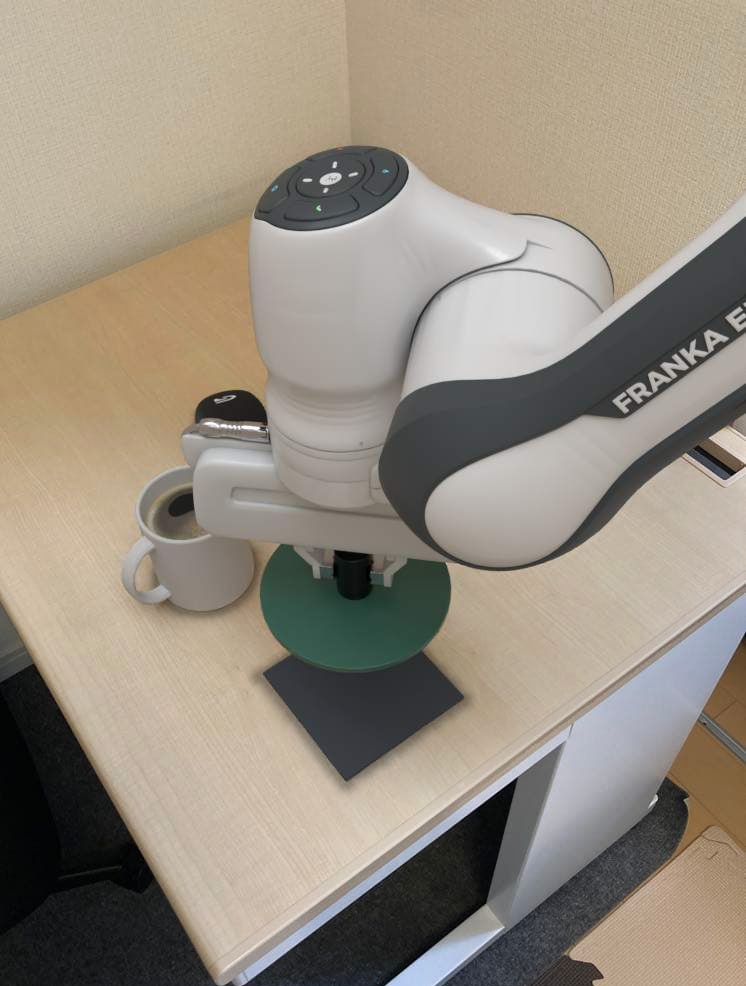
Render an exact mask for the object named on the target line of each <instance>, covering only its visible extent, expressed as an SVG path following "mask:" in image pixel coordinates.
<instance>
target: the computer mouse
mask: <svg viewBox="0 0 746 986" xmlns="http://www.w3.org/2000/svg"><path fill="white" fill-rule="evenodd" d="M205 418H218V419H223V420H224V421H233V422H241V421H243V422H244V421H249V422H261V423H268V420H267V414H266V407H265V405H263V403H262V402H261V400H260V398H258V397H257V396H256V395H255V394H254V393H252V392H250V391H248V390H244V389H229V390H223V391H220V392H217V393H216V392H215V393H213V394H210V395H207V396H206V397H205V398H203V399H202V400H201V401H200V402H199V403H198V404H197V406H196V408H195V412H194V424H197V423H200V421H201V419H205Z"/></svg>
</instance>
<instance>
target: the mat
mask: <svg viewBox="0 0 746 986" xmlns="http://www.w3.org/2000/svg"><path fill="white" fill-rule="evenodd" d="M262 675H263V676H264V678H265V680H267V682H268V683H269V685H270V686H271V687H272V688H273V689H274V691H275V692H276V694H277V695H278V696H279V697H280V699H281V700H282V701H283V702H284V704H285V705H286V707H288V709H289V710H290V712H291V713H292V714H293V715H294V717H295V718H296V719H297V720H298V722H299V723H300V724H301V726H302V727H303V728H304V730H305V731H306V732H307V734H308V735H309V737H311V739H312V740H313V742H314V743H315V744H316V745H317V746H318V748H319V749H320V751H322V753H323V754H324V756H325V757H326V758H327V759H328V761H329V762H330V763H331V765H332V766H333V767H334V768H335V770H336V771H337V772H338V773H339V775H340V776H341V778H342V779H343V780H344V781H345V782H348V781H349V780H351V779H352V778H354V777H355V776H356V775H358V774H359V773H360V772H362V771H363V770H365V769H366V768H367V767H369V766H370V765H372V764H374V763H375V762H376V761H377V760H380V758H382V757H383V756H385V755H386V754H387V753H389V752H390V751H392V750H394V749H395V748H396V747H398V746H399V745H400V744H402V743H403V742H404V741H405V742H406V740H407V739H409V738H410V737H412V736H414V735H415V734H416V733H417V732H419V731H421V730H422V729H423V728H425V727H426V726H427V725H429V724H430V723H432V722H433V721H435V720H437V718H439V717H440V716H442V715H443V714H445V713H446V712H447V711H449V710H450V709H451V708H453V707H455V706H456V705H457V704H459V703H461V702H462V701H463V700H464V699H465V696H464V695H463V693H462V692H461V691H460V690H459V689H458V688H457V687H456V686H455V685H454V684H453V683H452V681H450V679H449V678H448V677H447V676H446V675H445V674H444V673H443V671H441V669H440V668H439V667H438V666H437V665H436V664H435V663H434V662H433V661H432V660H431V659H430V658H429V657H428V656H427V655H426V653H425V652H424V651H423V649H422V650H421V651H420V652H418V653H417V654H416V655H414V656H413V657H411V658H409V659H407V660H405V661H404V662H402V663H399V664H397V665H394V666H392V667H389V668H385V669H382V670H378V671H372V672H365V673H343V672H335V671H330V670H325V669H322V668H319V667H316V666H313V665H311V664H308V663H306V662H304V661H302V660H300V659H299V658H297V657H296V656H294V655H292V654H291V653H290V655H288V656H286V657H284V658H283V659H282V660H280V661H278V662H277V663H275V664H274V665H272V666H271V667H269V668H268V669H265V670H264V671H263V672H262Z"/></svg>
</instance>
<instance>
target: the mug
mask: <svg viewBox="0 0 746 986" xmlns="http://www.w3.org/2000/svg"><path fill="white" fill-rule="evenodd" d="M194 471H195V470H193V469H192V468H191V467H190V466H189V465H188V464H183V465H178V466H174V467H172V468H169V469H166V470H164V471H163V472H161V473H159V474H157V475H155V477H153V478H151V479H150V480H149V481H148V482H147V483H146V484H145V485H144V487H143V488H142V489H141V491H140V492H139V494H138V496H137V500H136V503H135V509H134V510H135V511H134V513H135V518H136V521H137V524H138V527H139V530H140V533H141V535H142V537H140V538H139V539H138V540H136V542H135V543H133V545H132V546H131V547H130V548H129V550H128V551H127V552H126V553H127V554H126V556H125V558H124V560H123V564H122V567H121V582H122V583H121V584H122V585H123V588H124V590H125V591H126V592H127V593H128V594H129V595H130V596H131V597H132V598H133V599H134V600H135V601H136V602H138V603H139V604H141V605H145V606H146V605H147V606H151V605H156V604H160V603H163V602H164V601H166V600H168V601H169V602H171V603H172V604H173V605H175V606H177V607H179V608H180V609H184V610H186V611H193V612H210V611H215V610H216V611H217V610H219V609H222V608H224V607H226V606H229V605H230V604H233V603H234V602H235V601H237V600H238V599H239V598H240V597H241V596H243V595H244V594H245V592H246V591H247V590H248V588H249V587H250V586H251V583H252V581H253V579H254V576H255V575H254V574H255V561H254V556H253V551H252V546H251V540H243V539H234V538H225V537H217V536H212V535H210V534H209V533H207V532H206V531H205V530H204V529H202V528H201V527H200V526H199V525H198V523H197V520H196V515H195V508H194V500H193V476H194ZM147 555H148V556H149V559H150V561H151V564H152V567H153V570H154V573H155V576H156V578H157V581H158V584H159V585H158V586H156V587H155V588H153V589H150V590H147V591H141V590H138V589H137V586H136V576H137V572H138V570H139V567H140V565H141V564H142V562H143V560H144V559H145V558H146V556H147Z"/></svg>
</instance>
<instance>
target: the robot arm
mask: <svg viewBox="0 0 746 986" xmlns="http://www.w3.org/2000/svg"><path fill="white" fill-rule="evenodd" d="M247 263H248V264H247V272H248V287H249V299H250V309H251V317H252V327H253V335H254V341H255V346H256V349H257V353H258V355H259V358H260V360H261V362H262V363H263V365H264V367H265V369H266V371H267V377H266V381H265V387H264V408H265V410H266V414H267V420H268V423H261V422H249V421H244V422H243V421H241V422H233V421H224V420H223V419H218V418H205V419H201V421H200V423H197V424H195V423H193V424H190V425H188V426H186V427H185V428H184V429H183V431H182V432H181V434H180V447H181V450H182V453H183V458H184V461H185V462H186V465H189V466H190V467H191V468H192V469H193V470H195V471H194V476H193V500H194V508H195V515H196V520H197V523H198V525H199V526H200V527H201V528H202V529H204V530H205V531H206V532H207V533H209V534H210V535H212V536H217V537H225V538H234V539H243V540H249V541H254V542H261V543H269V544H270V543H271V544H279V545H280V544H287V545H293V547H294V550H295V551H296V552H297V553H298V554H299V555H300V556H301V557H302V558H303V559H304V560H305V561H307V562H308V563H309V564H310V565H312V569H313V576H314V578H317V579H329V580H335V577H336V572H335V561H334V550H340V551H349V552H358V553H366V554H373V558H372V559H373V563H372V564H371V569H370V578H371V580H370V585H378V586H385V587H391V586H392V581H393V575H394V573H395V572H396V571H398V570H399V569H400V568H401V567H402V566H404V565H405V564H406V563H407V559H408V558H410V559H419V560H428V561H437V562H445V563H446V564H456V565H460V566H464V567H466V568H470V569H475V570H480V571H487V572H512V571H519V570H520V571H521V570H525V569H529V568H533V567H537V566H539V565H543V564H546V563H548V562H551V561H553V560H557V559H558V558H559V557H562V556H564V555H566V554H568V553H570V552H571V551H573V550H575V549H576V548H578V547H580V546H581V545H583V544H584V543H586V542H587V541H588V540H589V539H591V538H592V537H594V536H595V535H596V534H598V533H599V532H600V531H601V530H603V529H604V528H605V526H607V525H608V523H610V522H611V521H612V520H613V519H614V517H615V516H616V515H617V513H618V512H619V511H620V510H621V509H622V508H623V507H624V506H625V505H626V504H627V502H628V501H629V500H630V499H631V498H632V497H633V496H634V495H635V494H636V493H637V492H638V491H639V490H640V489H641V488H642V487H643V486H644V485H645V484H646V483H648V482H649V481H650V480H651V479H652V478H653V477H655V476H656V475H657V474H659V473H660V472H662V471H663V470H664V469H666V468H667V467H669V466H670V465H671V464H673V463H674V462H675V461H677V460H678V459H679V458H681V457H682V456H684V455H686V454H687V453H688V452H690V451H691V450H694V448H696V447H697V446H699V445H700V444H702V443H704V442H705V441H707V440H708V439H709V438H711V437H713V436H714V435H716V434H717V433H719V432H720V431H721V430H722V431H723V429H724V428H726V427H728V426H729V425H731V424H732V423H734V422H735V421H737V420H738V419H740V418H741V417H743V416H744V415H746V188H745V189H744V190H743V192H741V194H740V195H739V196H738V197H737V198H736V199H735V200H734V201H733V202H732V203H731V204H730V205H729V207H727V209H725V211H724V212H723V213H722V214H721V215H720V216H719V217H718V218H716V220H714V221H713V222H712V223H711V224H710V225H708V227H706V228H705V229H704V230H703V231H702V232H700V233H699V234H697V236H695V237H694V238H693V239H692V240H690V241H689V242H688V243H687V244H685V245H684V246H683V247H682V248H680V249H679V250H678V251H677V252H675V253H674V254H673V255H672V256H670V257H669V258H668V259H667V260H666V261H664V262H663V263H662V264H661V265H660V266H658V267H657V268H656V269H655V270H653V271H652V272H651V273H650V274H648V275H647V276H646V277H645V278H644V279H642V280H641V281H640V282H638V283H637V284H636V285H635V286H634V287H632V288H631V289H630V290H629V291H627V292H626V293H625V294H624V295H622V296H621V297H620V298H619V299H618V300H616V301H615V284H614V283H615V282H614V277H613V273H612V270H611V267H610V264H609V263H608V260H607V258H606V257H605V254H604V253H603V252H602V250H601V249H600V248H599V246H598V245H597V244H596V243H595V242H594V241H593V240H592V239H591V238H590V237H588V235H586V234H585V233H584V232H582V231H581V230H580V229H578V228H576V227H575V226H573V225H572V224H569V223H568V222H565V221H563V220H560V219H558V218H555V217H551V216H548V215H544V214H538V213H524V212H504V211H502V210H497V209H495V208H491V207H489V206H484V205H482V204H480V203H476V202H474V201H471V200H469V199H466V198H465V197H462V196H459V195H457V194H455V193H453V192H451V191H449V190H447V189H445V188H443V187H441V186H440V185H439V184H437V183H435V182H433V181H432V180H431V179H430V178H428V177H427V175H425V174H424V173H423V172H422V171H421V170H420V169H419V168H418V167H417V166H416V164H414V163H413V162H412V161H411V160H410V159H409V158H408V157H406V156H404V155H403V154H401V153H400V152H397V151H395V150H392V149H389V148H385V147H382V146H375V145H359V144H358V145H345V146H344V145H343V146H339V147H333V148H329V149H325V150H322V151H319V152H316V153H314V154H313V153H312V154H311V155H308V156H307V157H306V158H304V159H302V160H300V161H298V162H297V163H295V164H293V165H292V166H290V167H288V168H286V169H284V170H283V171H282V172H281V173H280V174H279V175H278V176H277V177H276V178H275V179H274V180H273V181H272V182H271V183H270V185H269V186H268V187H267V188H266V189H265V191H264V192H263V193H262V195H261V197H260V198H259V200H258V201H257V203H256V205H255V208H254V210H253V212H252V216H251V219H250V223H249V229H248V242H247Z"/></svg>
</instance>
